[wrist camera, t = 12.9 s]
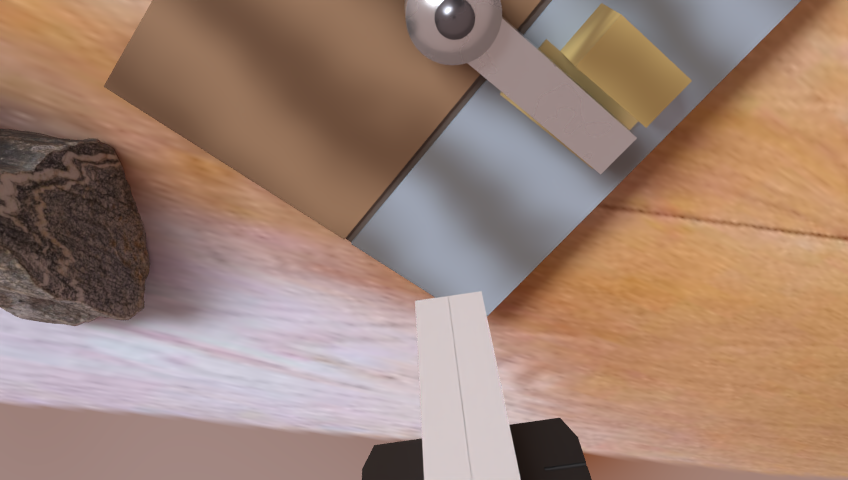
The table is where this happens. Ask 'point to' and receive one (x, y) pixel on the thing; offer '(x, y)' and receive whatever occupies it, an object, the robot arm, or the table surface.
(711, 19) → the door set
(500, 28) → the latch bar
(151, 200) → the table surface
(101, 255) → the rock
